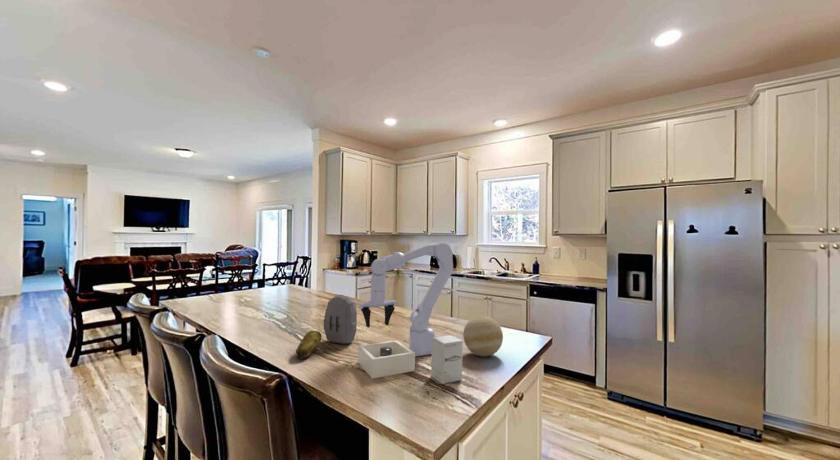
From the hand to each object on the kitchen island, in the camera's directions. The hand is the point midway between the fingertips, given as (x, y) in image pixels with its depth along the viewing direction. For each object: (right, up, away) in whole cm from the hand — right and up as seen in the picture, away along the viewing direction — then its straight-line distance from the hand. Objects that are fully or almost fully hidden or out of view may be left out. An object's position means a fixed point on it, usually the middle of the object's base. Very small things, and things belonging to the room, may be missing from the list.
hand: (377, 325), depth 130 cm
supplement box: (+25, -11, -22) cm, 35 cm away
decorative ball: (+40, -12, 0) cm, 42 cm away
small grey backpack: (-17, -11, +11) cm, 23 cm away
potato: (-26, -10, -3) cm, 28 cm away
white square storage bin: (+5, -10, -14) cm, 18 cm away
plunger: (+5, -9, -13) cm, 17 cm away
